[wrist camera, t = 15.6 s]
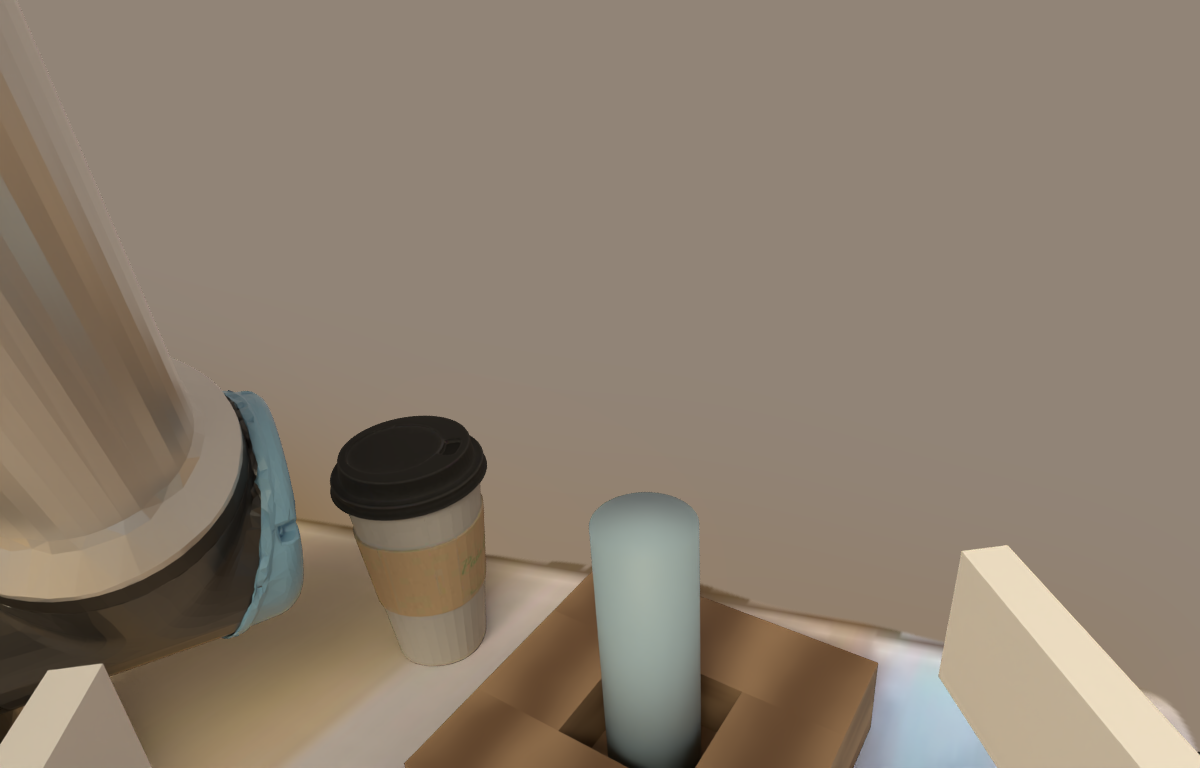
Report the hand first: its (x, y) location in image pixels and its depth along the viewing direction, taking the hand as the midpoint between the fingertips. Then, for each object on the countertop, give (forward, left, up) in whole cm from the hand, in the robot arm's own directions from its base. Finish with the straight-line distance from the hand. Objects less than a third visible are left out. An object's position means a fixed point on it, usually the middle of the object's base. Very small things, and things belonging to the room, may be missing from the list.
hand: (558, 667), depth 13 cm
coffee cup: (-28, +20, -30) cm, 45 cm away
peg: (-10, +18, -28) cm, 35 cm away
